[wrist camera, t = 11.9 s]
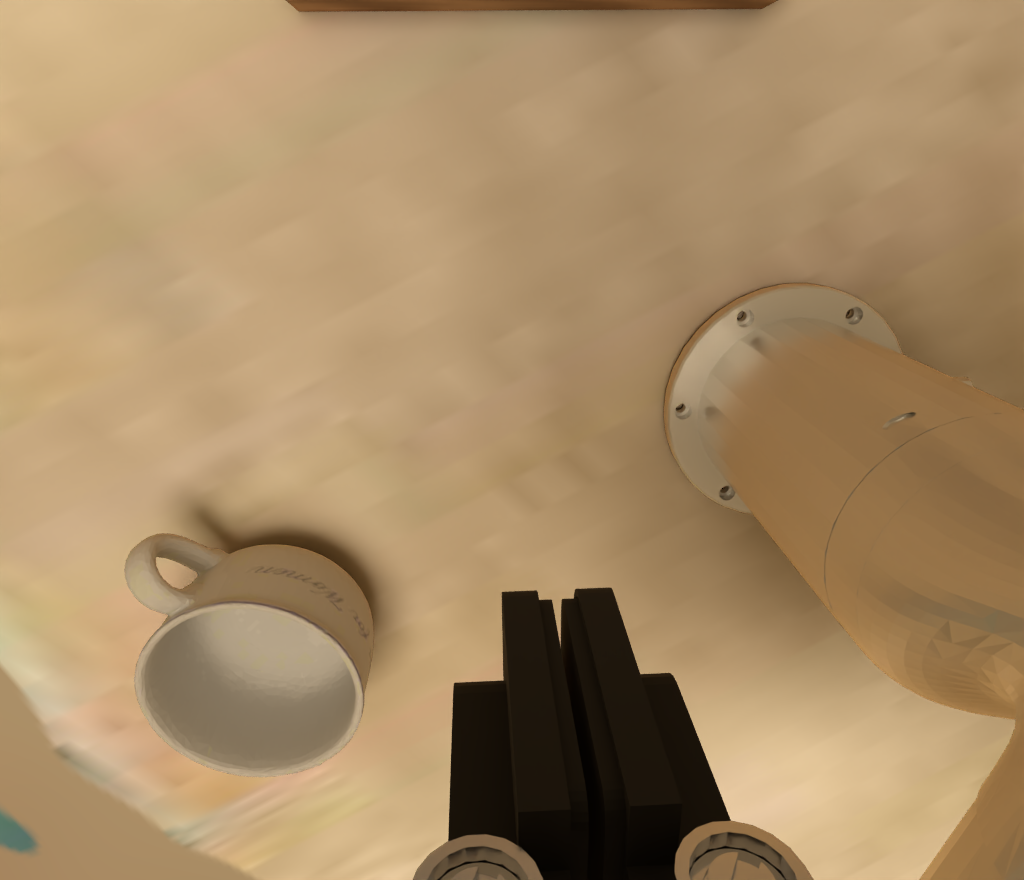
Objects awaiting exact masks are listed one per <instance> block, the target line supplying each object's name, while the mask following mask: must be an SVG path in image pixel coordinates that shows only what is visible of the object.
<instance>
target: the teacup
mask: <svg viewBox="0 0 1024 880" xmlns="http://www.w3.org/2000/svg"><path fill="white" fill-rule="evenodd" d="M156 557H161V558H167V559H170V560H173V561H176V562H178V563H180V564H182V565H185V566H187V567H189V568H190V569H192V570H194V571H195V572H197V574H198V577H197V578H196V579H195V580H194V581H193V582H192V584H190V585H188V586H186V587H185V588H183V589H177V588H174V587H172V586H171V585H170V584H168V583H167V582H166V581H165V580H164V579H163V578H162V576H161V575H160V573H159V571H158V569H157V566H156ZM124 570H125V578H126V581H127V584H128V587H129V589H130V590H131V592H132V593H133V595H134V596H135V598H136V599H137V600H138V601H139V602H140V603H142V604H143V605H144V606H146V607H147V608H149V609H151V610H154V611H157V612H160V613H163V614H167V615H168V617H167V618H166V620H165V621H164V623H163V624H162V626H161V627H160V628H159V629H158V630H157V631H156V632H155V633H154V634H153V635H152V636H151V638H150V639H149V641H148V642H147V643H146V645H145V646H144V648H143V650H142V652H141V654H140V656H139V659H138V662H137V665H136V670H135V679H134V682H135V691H136V696H137V700H138V703H139V705H140V708H141V710H142V712H143V714H144V716H145V717H146V719H147V720H148V722H149V724H150V725H151V727H152V729H153V730H154V731H155V732H156V733H157V734H158V735H159V737H160V738H162V739H163V740H164V741H165V742H166V743H167V744H168V745H169V746H171V747H172V748H173V749H174V750H176V751H177V752H179V753H180V754H182V755H184V756H186V757H187V758H189V759H191V760H193V761H194V762H196V763H199V764H201V765H203V766H206V767H208V768H211V769H213V770H217V771H221V772H224V773H227V774H233V775H238V776H247V777H276V776H282V775H288V774H294V773H298V772H301V771H304V770H307V769H310V768H314V767H316V766H319V765H321V764H322V763H323V762H325V761H326V760H328V759H330V758H332V757H333V756H334V755H336V754H337V753H338V752H339V751H341V750H342V749H343V748H344V747H345V745H346V744H347V743H348V742H349V741H350V740H351V738H352V737H353V735H354V733H355V732H356V730H357V727H358V725H359V723H360V720H361V716H362V713H363V707H364V693H365V689H366V685H367V680H368V676H369V671H370V666H371V660H372V653H373V644H374V626H373V619H372V614H371V610H370V607H369V604H368V602H367V600H366V597H365V596H364V594H363V592H362V590H361V589H360V587H359V586H358V585H357V583H356V582H355V581H354V579H353V578H352V577H351V576H350V575H349V574H348V573H347V572H346V571H345V570H343V569H342V568H341V567H340V566H338V565H337V564H336V563H334V562H333V561H331V560H330V559H328V558H326V557H324V556H322V555H320V554H318V553H316V552H313V551H310V550H307V549H304V548H300V547H295V546H290V545H278V544H269V545H257V546H252V547H248V548H244V549H241V550H237V551H235V552H233V553H230V554H229V553H226V552H224V551H223V550H221V549H218V548H214V549H209V548H207V547H205V546H203V545H201V544H199V543H197V542H194V541H192V540H190V539H188V538H185V537H182V536H179V535H175V534H156V535H153V536H150V537H148V538H146V539H144V540H143V541H141V542H140V543H139V544H138V545H137V546H135V547H134V548H133V549H132V550H131V552H130V553H129V555H128V558H127V560H126V563H125V569H124Z"/></svg>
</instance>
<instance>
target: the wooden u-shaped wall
mask: <svg viewBox="0 0 1024 880" xmlns="http://www.w3.org/2000/svg"><path fill="white" fill-rule="evenodd" d="M286 1H287V2H288V3H290V4H291V5H292V6H293V7H294V8H295V9H297V10H298V11H460V10H623V9H762V8H764V7H766V6H768V5H770V4H772V3H774V2H776V1H778V0H286Z"/></svg>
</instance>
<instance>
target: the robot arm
mask: <svg viewBox="0 0 1024 880" xmlns="http://www.w3.org/2000/svg"><path fill="white" fill-rule="evenodd" d="M849 309H850V313H849V315H848V316H846V313H847V311H848V310H849ZM741 311H743V312H744V315H743V317H742V318H741V319H739V320H737V319H736V318H737V316H738V314H739V313H740V312H741ZM680 404H683V408H682V409H680V410H676V407H677V406H678V405H680ZM664 423H665V433H666V436H667V440H668V443H669V446H670V450H671V452H672V454H673V456H674V458H675V460H676V461H677V463H678V465H679V467H680V469H681V470H682V471H683V473H684V474H685V475H686V477H687V478H688V479H689V481H690V482H691V483H692V484H693V485H694V486H695V487H696V488H697V489H698V490H699V491H700V492H702V493H703V494H704V495H705V496H706V497H708V498H709V499H711V500H713V501H714V502H716V503H717V504H719V505H721V506H724V507H727V508H730V509H732V510H735V511H738V512H741V513H747V514H753V515H754V516H755V517H756V519H757V520H758V521H759V522H760V524H761V525H762V526H763V527H764V529H765V530H766V531H767V533H768V534H769V535H770V536H771V538H772V539H773V540H774V541H775V543H776V544H777V545H778V546H779V548H780V549H781V550H782V552H783V553H784V554H785V555H786V557H787V558H788V559H789V560H790V562H791V563H792V564H793V565H794V567H795V568H796V569H797V570H798V572H799V573H800V574H801V576H802V577H803V578H804V579H805V581H806V582H807V583H808V584H809V586H810V587H811V588H812V589H813V591H814V592H815V593H816V595H817V596H818V597H819V598H820V600H821V601H822V602H823V603H824V605H825V606H826V607H827V608H828V610H829V611H830V612H831V614H832V615H833V616H834V617H835V619H836V620H837V621H838V622H839V624H840V625H841V626H842V627H843V628H844V629H845V630H846V632H847V633H848V634H849V635H850V637H851V638H852V639H853V640H854V642H855V643H856V644H857V645H858V646H859V648H860V649H861V650H862V651H863V652H864V653H865V655H866V656H867V657H868V658H869V659H870V660H871V661H872V662H873V663H874V664H875V665H876V666H877V667H878V668H880V669H881V670H882V671H883V672H884V673H885V674H887V675H888V676H889V677H890V678H892V679H893V680H894V681H896V682H897V683H899V684H900V685H902V686H903V687H905V688H907V689H909V690H911V691H912V692H914V693H916V694H918V695H920V696H922V697H924V698H926V699H928V700H931V701H933V702H936V703H939V704H942V705H945V706H949V707H952V708H955V709H959V710H963V711H967V712H971V713H976V714H981V715H988V716H994V717H1001V718H1008V719H1016V721H1015V729H1014V731H1013V734H1012V736H1011V739H1010V742H1009V744H1008V746H1007V747H1006V749H1005V750H1004V752H1003V754H1002V755H1001V757H1000V758H999V760H998V762H997V763H996V765H995V766H994V768H993V770H992V771H991V773H990V774H989V776H988V777H987V779H986V780H985V781H984V783H983V784H982V786H981V788H980V790H979V792H978V796H977V798H976V800H975V801H974V803H973V804H972V806H971V807H970V808H969V810H968V811H967V813H966V814H965V815H964V817H963V818H962V820H961V821H960V823H959V824H958V825H957V827H956V828H955V830H954V831H953V832H952V834H951V835H950V837H949V838H948V840H947V841H946V842H945V844H944V845H943V847H942V848H941V849H940V851H939V852H938V854H937V855H936V857H935V858H934V859H933V861H932V862H931V864H930V865H929V866H928V868H927V869H926V871H925V872H924V874H923V875H922V876H921V878H920V879H919V880H1024V410H1023V409H1020V408H1018V407H1016V406H1014V405H1012V404H1009V403H1007V402H1005V401H1003V400H1001V399H999V398H996V397H994V396H992V395H990V394H988V393H985V392H983V391H981V390H979V389H977V388H974V387H973V384H972V381H971V380H970V379H969V378H968V377H950V376H948V375H946V374H944V373H942V372H939V371H937V370H935V369H933V368H931V367H928V366H926V365H924V364H922V363H920V362H918V361H915V360H913V359H911V358H909V357H907V356H904V355H903V352H902V350H901V347H900V345H899V342H898V340H897V337H896V335H895V334H894V332H893V331H892V330H891V328H890V327H889V325H888V324H887V322H886V321H885V319H884V318H883V317H882V316H880V315H879V314H878V313H877V312H876V311H875V310H874V309H873V308H872V307H870V306H869V305H868V304H867V303H865V302H863V301H861V300H859V299H857V298H856V297H854V296H852V295H850V294H848V293H845V292H843V291H840V290H837V289H834V288H831V287H827V286H821V285H815V284H810V283H794V284H781V285H776V286H772V287H767V288H762V289H759V290H757V291H754V292H752V293H750V294H747V295H745V296H742V297H740V298H738V299H736V300H735V301H733V302H732V303H730V304H728V305H727V306H725V307H724V308H722V309H721V310H719V311H717V312H716V313H715V314H714V315H713V316H712V317H711V318H710V319H709V320H707V321H706V322H705V323H704V324H703V325H702V326H701V327H700V328H699V329H698V330H697V331H696V333H695V334H694V335H693V336H692V338H691V339H690V340H689V342H688V343H687V344H686V345H685V347H684V348H683V350H682V352H681V354H680V356H679V358H678V360H677V361H676V363H675V365H674V367H673V370H672V373H671V376H670V379H669V382H668V385H667V389H666V395H665V404H664ZM724 486H726V487H725V488H724V489H722V488H723V487H724ZM721 489H722V490H721ZM502 630H503V677H504V681H485V682H463V683H454V691H453V719H452V749H451V779H450V809H449V839H448V842H446V843H445V844H443V845H442V846H440V847H439V848H437V849H436V850H434V851H433V852H432V853H430V854H429V855H428V857H427V858H426V859H425V860H424V861H423V863H422V864H421V865H420V866H419V868H418V869H417V871H416V873H415V875H414V878H413V880H814V879H813V878H812V876H811V875H810V873H809V871H808V870H807V868H806V867H805V865H804V864H803V863H802V862H801V860H800V859H799V858H798V857H797V856H796V854H795V853H794V852H793V851H792V850H791V848H790V847H788V846H787V845H786V844H784V843H783V842H782V841H780V840H779V839H778V838H776V837H775V836H774V835H772V834H770V833H768V832H766V831H764V830H762V829H760V828H757V827H755V826H753V825H749V824H745V823H740V822H735V821H731V820H730V817H729V815H728V812H727V810H726V807H725V805H724V802H723V800H722V797H721V794H720V792H719V789H718V787H717V784H716V782H715V779H714V777H713V774H712V771H711V769H710V766H709V764H708V761H707V759H706V756H705V754H704V751H703V748H702V746H701V743H700V741H699V738H698V736H697V733H696V731H695V728H694V725H693V723H692V720H691V718H690V715H689V713H688V710H687V708H686V705H685V702H684V700H683V697H682V695H681V692H680V690H679V687H678V685H677V682H676V680H675V678H674V676H673V675H671V674H670V673H660V674H640V672H639V669H638V666H637V663H636V660H635V657H634V654H633V651H632V648H631V645H630V642H629V639H628V636H627V632H626V629H625V626H624V623H623V620H622V617H621V614H620V611H619V608H618V605H617V602H616V599H615V596H614V593H613V590H612V588H588V589H575V593H574V599H562V604H561V647H560V642H559V636H558V631H557V625H556V620H555V614H554V609H553V604H552V600H539V598H538V592H537V591H514V592H502Z"/></svg>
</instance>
